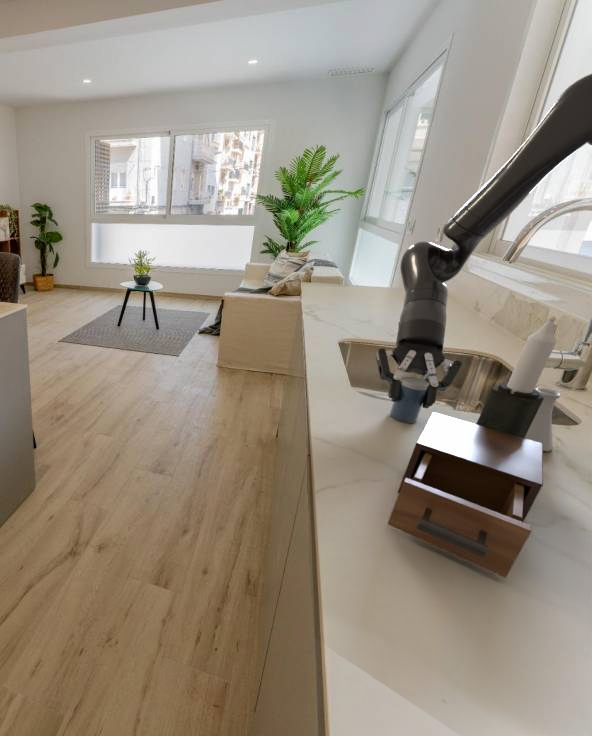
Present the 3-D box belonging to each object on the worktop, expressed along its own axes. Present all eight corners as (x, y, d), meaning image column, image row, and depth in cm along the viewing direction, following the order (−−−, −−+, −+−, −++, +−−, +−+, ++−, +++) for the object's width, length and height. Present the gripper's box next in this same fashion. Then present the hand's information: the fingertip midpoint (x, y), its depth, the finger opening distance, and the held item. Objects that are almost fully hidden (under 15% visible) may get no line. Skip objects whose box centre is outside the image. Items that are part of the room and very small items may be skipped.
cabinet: (513, 540, 54) (542, 485, 51) (397, 492, 62) (416, 442, 59) (517, 492, 63) (542, 443, 60) (415, 456, 71) (432, 411, 68)
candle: (459, 456, 72) (521, 312, 62) (476, 450, 74) (539, 310, 64) (495, 473, 67) (568, 322, 58) (512, 467, 69) (586, 319, 60)
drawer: (503, 601, 45) (531, 552, 42) (379, 541, 52) (395, 496, 49) (510, 523, 56) (533, 480, 53) (407, 482, 63) (422, 443, 60)
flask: (495, 426, 82) (516, 379, 78) (547, 439, 78) (572, 390, 74) (500, 442, 76) (524, 392, 72) (557, 457, 72) (584, 405, 69)
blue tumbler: (408, 413, 86) (421, 377, 83) (420, 424, 82) (434, 386, 79) (385, 411, 86) (397, 375, 83) (396, 422, 82) (409, 384, 79)
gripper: (384, 312, 86) (371, 387, 81) (474, 323, 80) (466, 405, 75) (375, 330, 92) (362, 401, 87) (457, 342, 86) (449, 419, 81)
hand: (410, 403), depth 81 cm, fingers closed on blue tumbler, 4 cm apart
